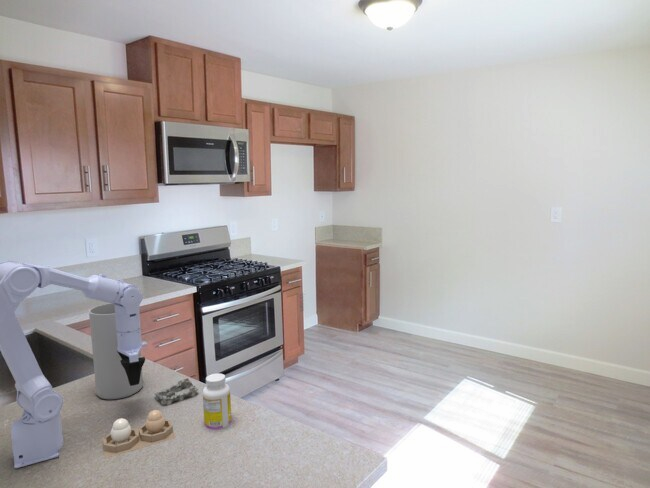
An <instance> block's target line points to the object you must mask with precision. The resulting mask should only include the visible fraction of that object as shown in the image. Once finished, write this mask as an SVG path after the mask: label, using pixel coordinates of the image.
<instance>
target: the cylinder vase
mask: <svg viewBox="0 0 650 488" xmlns="http://www.w3.org/2000/svg"><path fill="white" fill-rule="evenodd" d="M116 305H118V304H116ZM88 315H89V328H90V337H91V338H90V339H91V349H92V359H93V370H94V382H95V391H96V395H97V397H99V398H100V399H103V400H119V399H124V398H127V397H128V398H129V397H131V396H133V395H135V394H137V393H138V392H140V390H142V388H143V385H144V380H143V379H144V377H143V369H142V370H141V375H140V382H139V384H137V385H133V386H130V384H129V381H128V377H127V374H126V372H125V369H124V367H123V366H122V365H121V362H120V360H122V359H121V357H120V355H119V354H118V352H117V347H118V343H117V330H116V318H115V305H114V304H113V303H105V304H100V305H97V306H93V307H92V308H90V309H89V310H88ZM141 351H142V349H141V350H140V352H139V354H138V358H141V357H142V354H141V353H142V352H141Z"/></svg>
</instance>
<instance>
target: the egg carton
mask: <svg viewBox="0 0 650 488" xmlns="http://www.w3.org/2000/svg"><path fill="white" fill-rule="evenodd" d="M184 389H188V390H189V391H186V392H183V394H176V393H178V392H181V391H182V390H184ZM198 390H199V388H198V387H196V385H193V383H192V381H190V379H189V378H188V377H187V378H183V379H182V380H179V381H178V383H177V384H172V385H171V386H170V387H166V388H164V389H162V390H160V391H157V392H154V393H153V394H154V396H155V400H156V401H160V405H161V406H164V405H165V406H166V405H167V406H170V405H172V403H173V402H175V401H178V402H181V401H184V399H185V398H186V397H195V396H196V394H197V393H198ZM164 397H166V398H164Z"/></svg>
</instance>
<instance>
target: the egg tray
mask: <svg viewBox="0 0 650 488" xmlns="http://www.w3.org/2000/svg"><path fill="white" fill-rule="evenodd" d="M173 427H174V426H173V424H172V421H171V419H166V418H165V425H164V427H163V429H162V432H160V433H157V434H153V435H150V432H149V431H148V430H147V429H146V425H145V423H144V424H143V425H141V426H140V427H138V428H132V427H131V435H130V437H129V438H128V442H125V443H121V444H118V445H115V441H114V440H113V439H112V438H111V434H110V433H111V432H109V433H108V434H107V435H106V436H104V437H102V438H101V439H102V445H103V452H104V459H108V458H112V457H115V456H118V455H119V456H120V455H122V454H125V453H128V452H132V451H135V450H140V449H143V448H146V447H149V446H152V445H156V444H161V443H163V442H166V441H169V440H173V439H176V438H177V437H176V434H175V432H174V428H173Z"/></svg>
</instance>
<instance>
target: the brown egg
mask: <svg viewBox="0 0 650 488" xmlns="http://www.w3.org/2000/svg"><path fill="white" fill-rule="evenodd" d="M146 417H147V418H146V419H145V422H144V424H145V425H146V429H147V430H148V431H149V432H150V435H153V434H157V433H160V432H162V429H163V427H164V425H165V419H166V418H165V417H164V415H163V413H162V412H161V410H158V409H153V410H151V411H149V413H148V414H147V416H146Z"/></svg>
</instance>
